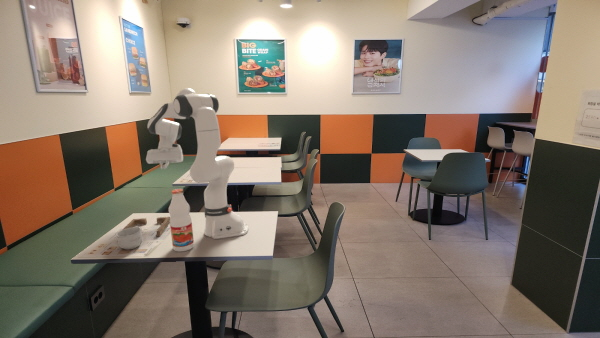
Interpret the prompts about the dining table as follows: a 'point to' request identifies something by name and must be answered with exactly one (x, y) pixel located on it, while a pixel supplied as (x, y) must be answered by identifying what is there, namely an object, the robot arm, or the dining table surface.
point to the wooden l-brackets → (163, 220)
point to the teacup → (129, 237)
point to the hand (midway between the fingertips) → (163, 168)
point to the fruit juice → (180, 222)
